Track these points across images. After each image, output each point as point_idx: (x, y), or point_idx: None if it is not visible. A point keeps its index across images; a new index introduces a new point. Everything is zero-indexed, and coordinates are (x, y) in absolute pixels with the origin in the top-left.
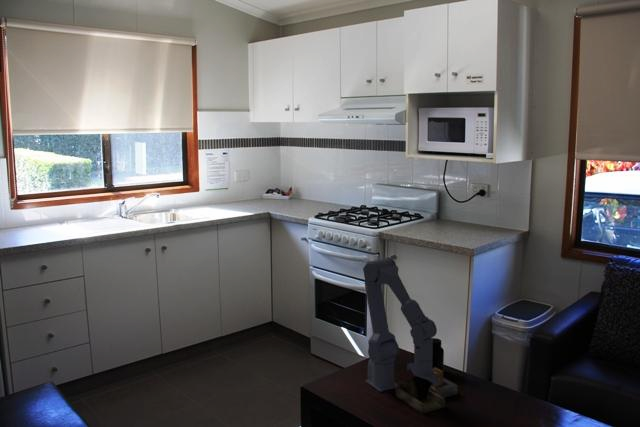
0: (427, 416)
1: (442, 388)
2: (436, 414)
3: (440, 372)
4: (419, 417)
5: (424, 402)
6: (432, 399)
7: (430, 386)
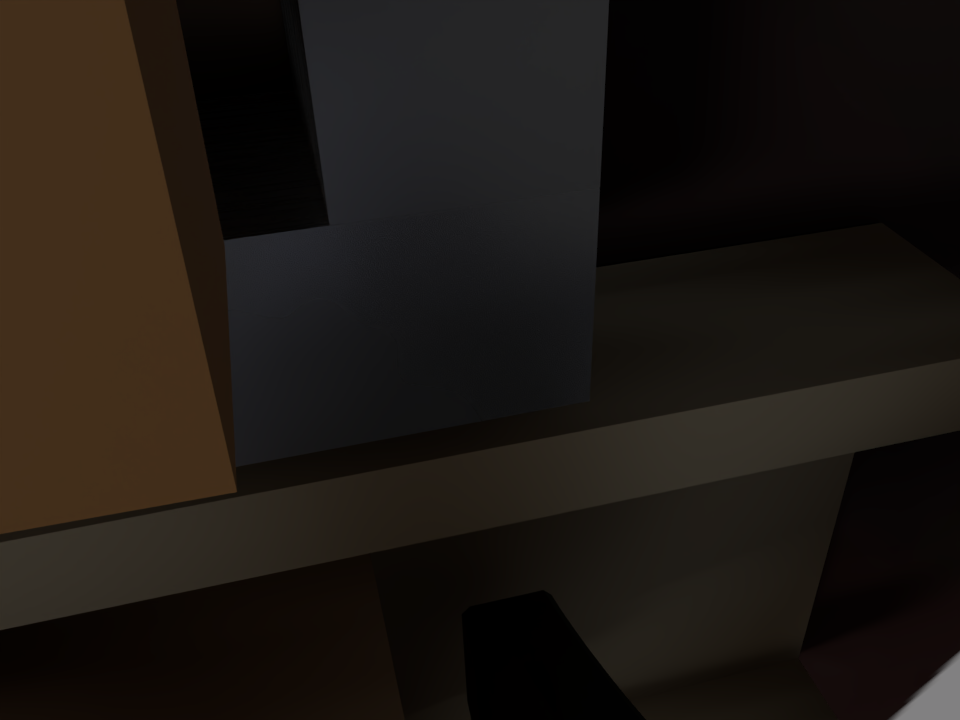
0: (870, 622)
1: (509, 23)
2: (932, 491)
3: (98, 435)
4: None
5: (538, 573)
6: None
7: None
